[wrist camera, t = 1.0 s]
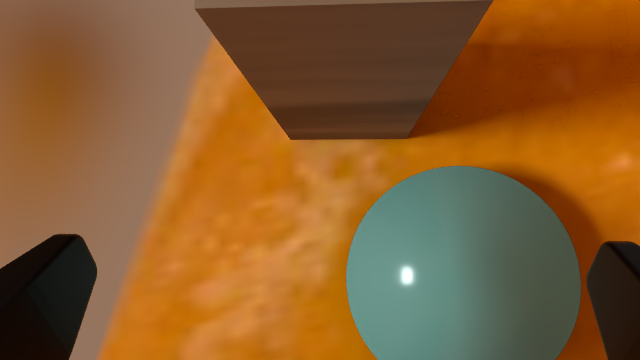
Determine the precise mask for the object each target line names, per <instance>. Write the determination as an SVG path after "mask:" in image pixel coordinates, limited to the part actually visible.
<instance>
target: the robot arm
mask: <svg viewBox="0 0 640 360" xmlns="http://www.w3.org/2000/svg"><path fill="white" fill-rule="evenodd" d="M96 277H97V267H96V263H95V261H94V259H93V257H92V255H91V253H90V251H89V249H88V247H87V245H86V243H85V241H84V239H83V238H82V237H81V236H80V235H77V234H56V235H53V236H52V237H50V238H48V239H47V240H45V241H44V242H42V243H41V244H39V245H37V246H36V247H34V248H32V249H31V250H29V251H28V252H26V253H25V254H23V255H22V256H20V257H18V258H17V259H15V260H13V261H12V262H10V263H9V264H7V265H6V266H4V267H2V268H1V269H0V360H69V357H70V355H71V352H72V350H73V347H74V344H75V341H76V338H77V335H78V332H79V329H80V326H81V323H82V320H83V317H84V314H85V311H86V308H87V305H88V302H89V299H90V296H91V293H92V290H93V286H94V284H95V281H96ZM587 288H588V292H589V295H590V299H591V302H592V306H593V309H594V313H595V316H596V319H597V323H598V326H599V330H600V333H601V337H602V340H603V343H604V347H605V350H606V354H607V357H608V360H640V246H639V245H637V244H635V243H633V242H629V241H607V242H605V243H603V244H602V245H601V247H600V248H599V250H598V253H597V255H596V257H595V259H594V261H593V263H592V265H591V268H590V270H589V272H588V275H587Z"/></svg>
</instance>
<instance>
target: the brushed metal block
mask: <svg viewBox="0 0 640 360" xmlns="http://www.w3.org/2000/svg"><path fill="white" fill-rule="evenodd" d="M492 2H493V0H195V10H196V11H197V12H198V13H199V15H200V17H201V18H202V19H203V21H204V22H205V23H206V25H207V26H208V27H209V29H210V30H211V32H212V33H213V34H214V36H215V37H216V38H217V40H218V41H219V42H220V44H221V45H222V47H223V48H224V49H225V51H226V52H227V53H228V55H229V56H230V58H231V59H232V60H233V62H234V63H235V64H236V66H237V67H238V68H239V70H240V71H241V73H242V74H243V75H244V77H245V78H246V79H247V81H248V82H249V83H250V85H251V86H252V88H253V89H254V90H255V92H256V93H257V94H258V96H259V97H260V99H261V100H262V101H263V103H264V104H265V105H266V107H267V108H268V109H269V111H270V112H271V114H272V115H273V116H274V118H275V119H276V120H277V122H278V123H279V124H280V126H281V127H282V129H283V130H284V131H285V133H286V134H287V135H288V137H289V138H290V140H307V139H407V137H408V135H409V134H410V132H411V131H412V129H413V127H414V126H415V124H416V123H417V121H418V120H419V118H420V116H421V115H422V113H423V112H424V110H425V108H426V107H427V105H428V104H429V102H430V100H431V99H432V97H433V96H434V94H435V92H436V91H437V89H438V88H439V86H440V85H441V83H442V81H443V80H444V78H445V77H446V75H447V73H448V72H449V70H450V69H451V67H452V65H453V64H454V62H455V61H456V59H457V57H458V56H459V54H460V53H461V51H462V50H463V48H464V46H465V45H466V43H467V42H468V40H469V38H470V37H471V35H472V34H473V32H474V30H475V29H476V27H477V26H478V24H479V22H480V21H481V19H482V18H483V16H484V15H485V13H486V11H487V10H488V8H489V7H490V5H491V3H492Z"/></svg>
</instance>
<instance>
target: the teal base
mask: <svg viewBox="0 0 640 360" xmlns="http://www.w3.org/2000/svg"><path fill="white" fill-rule="evenodd" d="M346 283H347V296H348V300H349V305H350V310H351V313H352V316H353V319H354V321H355V324H356V326H357V328H358V330H359V332H360V334H361V336H362V339H363V340H364V342H365V343H366V345H367V346H368V348H369V349H370V351H371V352H372V353H373V354H374V355H375V357H376V358H377V359H378V360H555V359H556V358H557V357H558V356H559V355H560V353H561V352H562V350H563V348H564V347H565V345H566V344H567V342H568V340H569V338H570V336H571V333H572V331H573V329H574V326H575V323H576V320H577V316H578V312H579V306H580V299H581V276H580V269H579V263H578V259H577V256H576V252H575V249H574V246H573V244H572V241H571V239H570V236H569V234H568V233H567V231H566V229H565V227H564V226H563V224H562V222H561V221H560V219H559V218H558V217H557V215H556V214H555V213H554V211H553V210H552V209H551V208H550V207H549V206H548V205H547V204H546V203H545V202H544V201H543V200H542V199H541V198H540V197H539V196H538V195H537V194H535V193H534V192H533V191H532V190H530V189H529V188H528V187H526V186H524V185H523V184H521V183H519V182H518V181H516V180H514V179H512V178H510V177H508V176H505V175H503V174H501V173H497V172H494V171H491V170H488V169H483V168H477V167H469V166H451V167H441V168H436V169H431V170H427V171H424V172H421V173H419V174H416V175H413V176H411V177H409V178H407V179H405V180H403V181H401V182H400V183H398V184H397V185H395V186H394V187H392V188H391V189H390V190H388V191H387V192H386V193H385V194H384V195H383V196H382V197H380V198H379V199H378V200H377V201H376V202H375V203H374V204H373V206H372V207H371V208H370V209H369V210H368V211H367V213H366V214H365V216H364V217H363V219H362V220H361V222H360V223H359V226H358V228H357V230H356V232H355V234H354V237H353V240H352V243H351V246H350V250H349V256H348V262H347V275H346Z"/></svg>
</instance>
